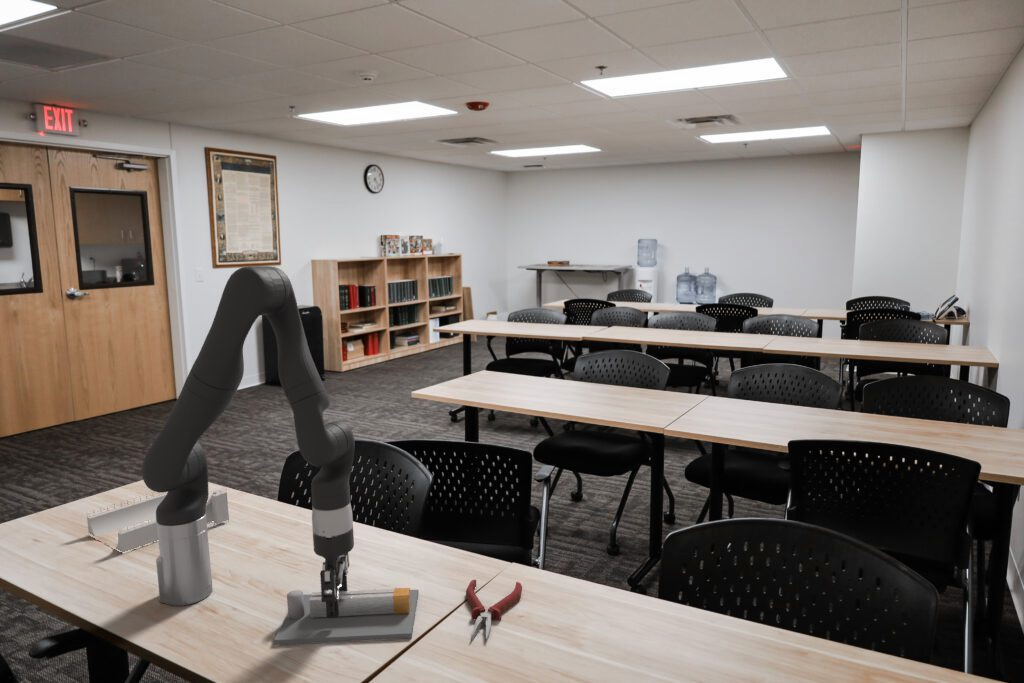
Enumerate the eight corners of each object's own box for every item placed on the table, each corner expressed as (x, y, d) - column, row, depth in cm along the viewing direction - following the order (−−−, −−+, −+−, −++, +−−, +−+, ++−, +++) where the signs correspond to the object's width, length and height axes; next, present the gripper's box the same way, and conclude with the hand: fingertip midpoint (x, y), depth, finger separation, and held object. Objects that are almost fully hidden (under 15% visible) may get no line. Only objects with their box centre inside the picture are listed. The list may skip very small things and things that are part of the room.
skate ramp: (184, 506, 192) (181, 472, 191) (229, 524, 179) (226, 487, 177) (89, 537, 172) (84, 499, 171) (131, 560, 159) (127, 519, 157)
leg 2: (310, 618, 130) (308, 600, 129) (311, 614, 131) (310, 596, 130) (409, 613, 131) (408, 595, 130) (409, 609, 132) (409, 591, 132)
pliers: (448, 643, 124) (447, 630, 123) (470, 588, 143) (469, 576, 143) (509, 647, 122) (509, 634, 122) (523, 591, 142) (523, 579, 141)
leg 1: (312, 613, 131) (311, 595, 131) (314, 609, 133) (312, 591, 132) (410, 609, 132) (409, 591, 132) (410, 605, 133) (409, 587, 133)
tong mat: (274, 645, 123) (272, 617, 122) (297, 599, 139) (295, 574, 138) (411, 638, 124) (410, 610, 124) (418, 593, 140) (417, 569, 139)
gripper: (321, 512, 136) (325, 587, 138) (303, 543, 122) (309, 626, 124) (358, 511, 136) (362, 586, 138) (345, 541, 122) (350, 624, 124)
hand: (337, 605), depth 131 cm, fingers open, 8 cm apart
